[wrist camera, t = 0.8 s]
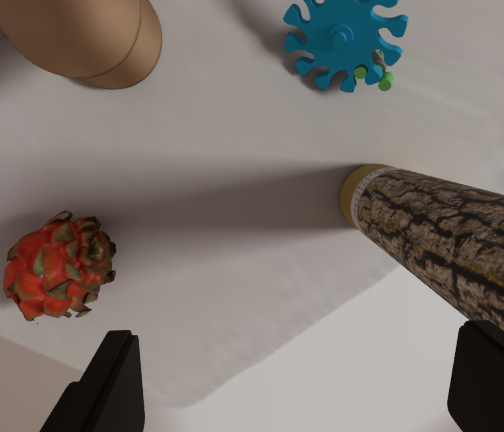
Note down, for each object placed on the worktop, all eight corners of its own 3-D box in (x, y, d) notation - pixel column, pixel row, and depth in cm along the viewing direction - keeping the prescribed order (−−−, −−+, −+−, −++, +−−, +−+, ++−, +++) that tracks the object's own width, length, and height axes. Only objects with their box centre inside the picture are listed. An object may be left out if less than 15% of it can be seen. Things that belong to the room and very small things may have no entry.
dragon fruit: (127, 208, 38) (65, 282, 41) (42, 175, 32) (-22, 265, 35) (146, 270, 32) (73, 349, 36) (48, 245, 26) (-30, 344, 30)
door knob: (117, -46, 31) (73, -113, 22) (182, 50, 33) (166, 24, 24) (35, 19, 32) (-39, -21, 23) (103, 109, 34) (60, 104, 25)
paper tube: (331, 223, 38) (514, 399, 14) (345, 157, 36) (582, 224, 12) (393, 232, 38) (674, 415, 14) (410, 168, 37) (757, 251, 13)
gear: (257, 29, 31) (352, -68, 24) (280, 2, 35) (370, -91, 27) (335, 123, 35) (439, 63, 28) (350, 90, 39) (445, 29, 31)
